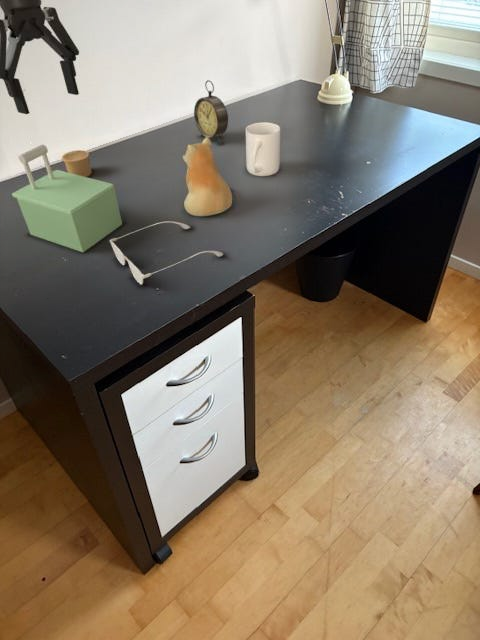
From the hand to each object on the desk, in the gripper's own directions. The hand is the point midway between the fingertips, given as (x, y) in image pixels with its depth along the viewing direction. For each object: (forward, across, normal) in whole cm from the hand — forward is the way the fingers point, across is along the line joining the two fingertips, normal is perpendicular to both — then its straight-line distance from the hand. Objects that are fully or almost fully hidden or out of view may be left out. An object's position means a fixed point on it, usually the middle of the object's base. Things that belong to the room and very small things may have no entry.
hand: (49, 103), depth 102 cm
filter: (+22, +10, +10) cm, 26 cm away
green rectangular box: (+22, -11, -11) cm, 27 cm away
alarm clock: (+22, +46, -9) cm, 52 cm away
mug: (+22, +33, -33) cm, 52 cm away
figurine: (+22, +14, -30) cm, 40 cm away
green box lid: (+13, -11, -11) cm, 20 cm away
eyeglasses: (+22, -9, -36) cm, 43 cm away
